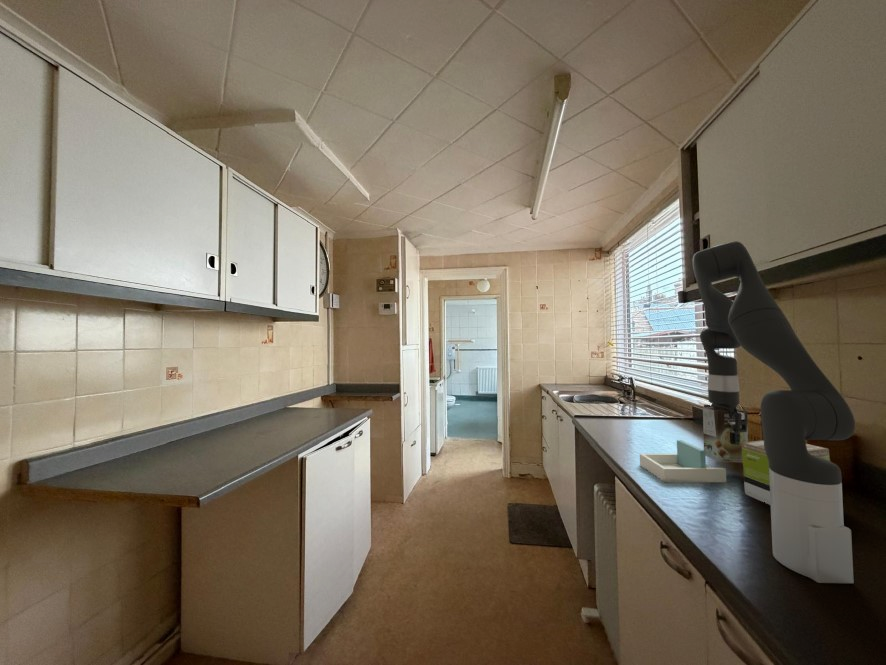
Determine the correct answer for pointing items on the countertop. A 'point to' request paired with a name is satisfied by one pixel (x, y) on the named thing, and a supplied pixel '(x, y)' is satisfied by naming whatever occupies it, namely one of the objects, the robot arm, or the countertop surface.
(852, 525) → the countertop surface
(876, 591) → the countertop surface
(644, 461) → the white rectangular tray
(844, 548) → the robot arm
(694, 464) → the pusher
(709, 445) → the coffee box
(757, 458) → the tea box
